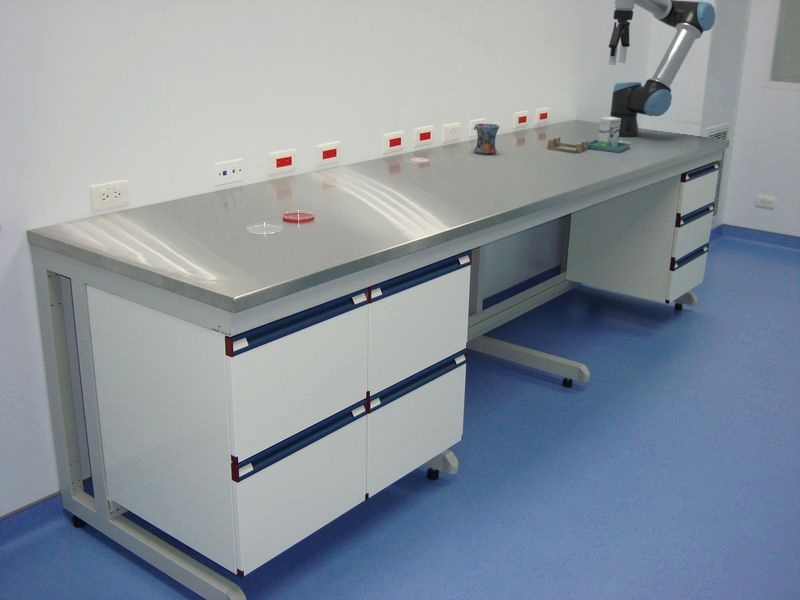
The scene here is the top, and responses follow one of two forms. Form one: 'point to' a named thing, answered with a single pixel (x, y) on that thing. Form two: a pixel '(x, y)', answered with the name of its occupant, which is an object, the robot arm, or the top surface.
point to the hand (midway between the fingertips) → (616, 63)
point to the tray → (618, 149)
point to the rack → (556, 142)
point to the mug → (486, 138)
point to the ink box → (609, 131)
